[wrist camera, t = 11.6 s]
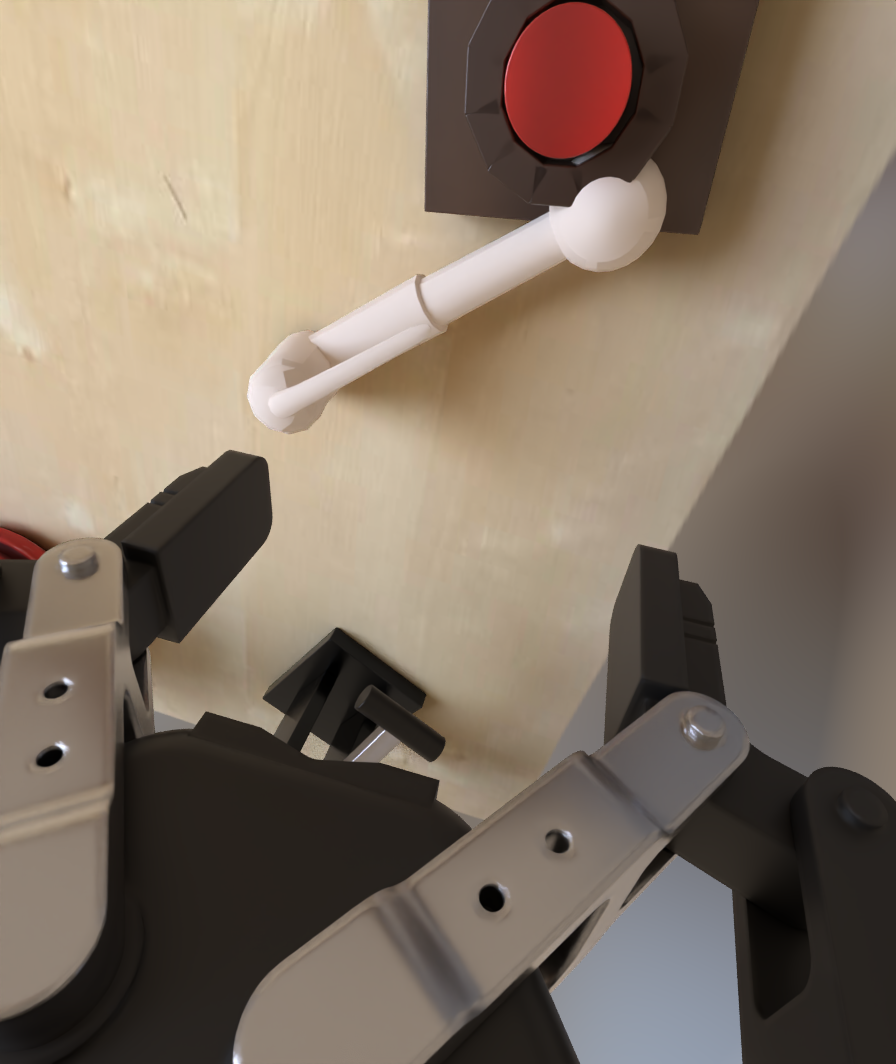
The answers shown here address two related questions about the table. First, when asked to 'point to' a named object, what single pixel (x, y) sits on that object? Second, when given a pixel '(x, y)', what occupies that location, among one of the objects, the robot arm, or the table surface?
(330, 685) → the bracket
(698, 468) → the table surface
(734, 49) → the button block
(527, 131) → the button
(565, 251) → the faucet
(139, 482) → the table surface
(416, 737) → the lever
